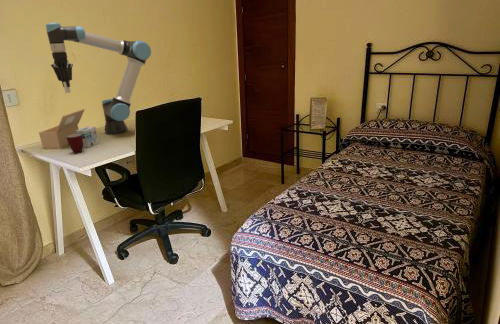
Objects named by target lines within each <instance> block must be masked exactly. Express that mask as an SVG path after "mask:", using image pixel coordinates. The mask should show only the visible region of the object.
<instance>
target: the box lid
mask: <svg viewBox="0 0 500 324" xmlns="http://www.w3.org/2000/svg"><path fill="white" fill-rule="evenodd" d="M85 110H86V109H85V108H83V109H80V110H76V111H74V112H70V113H67V114H65V115H62V116H61V119H60V122H59V126H58V125H57V126H58V129H57V131H56V132H60V131H62V130H65V129H67V128H70V127H73V126H75V125H78V126H79V123H80V121H81V119H82V117H83V114H84V112H85Z"/></svg>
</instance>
